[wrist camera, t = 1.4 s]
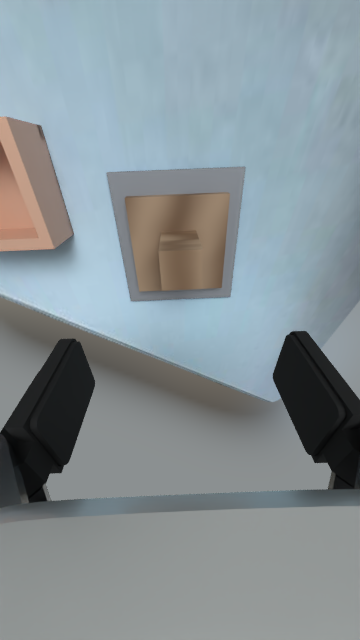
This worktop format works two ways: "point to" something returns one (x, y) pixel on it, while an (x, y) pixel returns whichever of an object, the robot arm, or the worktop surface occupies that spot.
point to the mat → (177, 184)
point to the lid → (178, 240)
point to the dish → (29, 191)
